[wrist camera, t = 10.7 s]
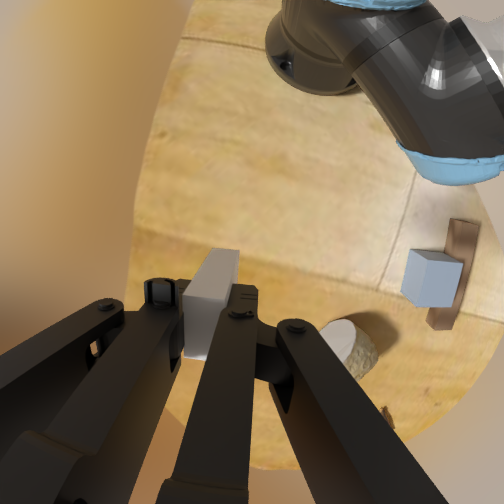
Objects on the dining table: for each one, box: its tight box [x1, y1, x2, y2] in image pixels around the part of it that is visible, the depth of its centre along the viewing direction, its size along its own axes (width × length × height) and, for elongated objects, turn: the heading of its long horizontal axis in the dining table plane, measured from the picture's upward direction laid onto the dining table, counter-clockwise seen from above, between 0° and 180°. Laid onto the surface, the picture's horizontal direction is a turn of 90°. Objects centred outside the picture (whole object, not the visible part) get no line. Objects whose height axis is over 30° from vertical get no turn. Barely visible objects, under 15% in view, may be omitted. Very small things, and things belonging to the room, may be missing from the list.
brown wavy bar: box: [426, 218, 479, 330], centre depth 39 cm, size 18×4×4 cm, turn 175°
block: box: [400, 249, 463, 307], centre depth 39 cm, size 7×7×6 cm
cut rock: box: [319, 319, 378, 382], centre depth 40 cm, size 10×10×10 cm
